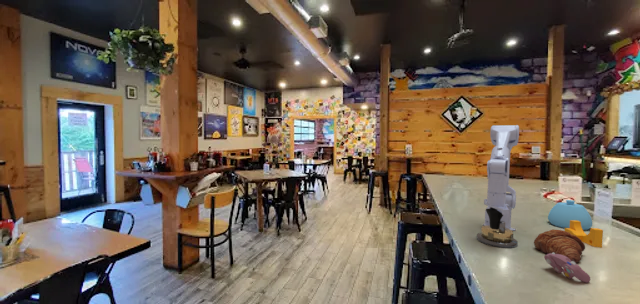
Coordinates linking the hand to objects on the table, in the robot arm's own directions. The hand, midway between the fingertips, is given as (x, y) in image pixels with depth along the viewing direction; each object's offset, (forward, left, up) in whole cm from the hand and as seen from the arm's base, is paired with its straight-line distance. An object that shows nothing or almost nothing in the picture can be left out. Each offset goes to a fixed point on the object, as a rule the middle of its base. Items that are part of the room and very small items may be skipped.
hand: (494, 228), depth 105 cm
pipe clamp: (+6, +35, -6) cm, 36 cm away
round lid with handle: (-1, +3, -4) cm, 5 cm away
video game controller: (+25, -1, -6) cm, 25 cm away
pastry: (+11, +15, -6) cm, 20 cm away
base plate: (-1, +3, -6) cm, 6 cm away
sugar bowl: (-9, +52, -6) cm, 53 cm away
